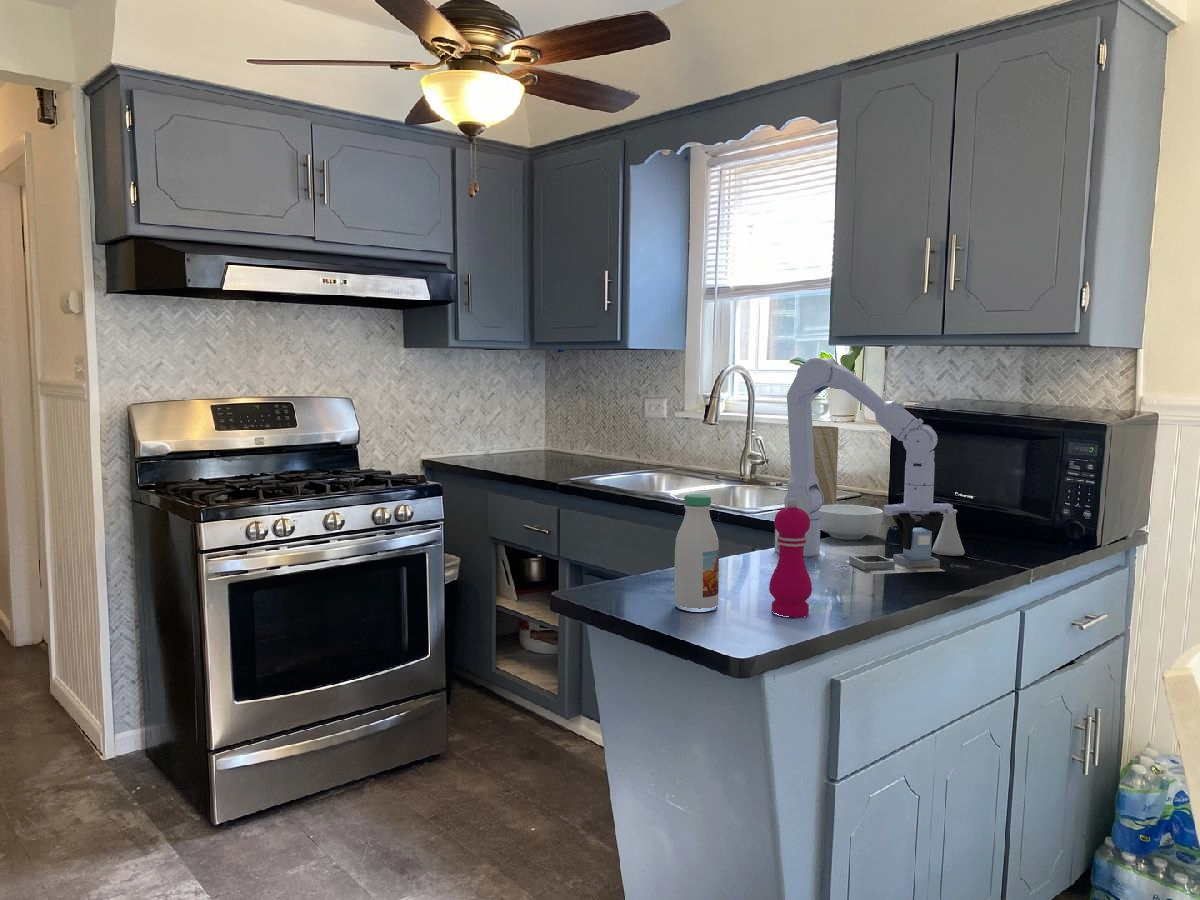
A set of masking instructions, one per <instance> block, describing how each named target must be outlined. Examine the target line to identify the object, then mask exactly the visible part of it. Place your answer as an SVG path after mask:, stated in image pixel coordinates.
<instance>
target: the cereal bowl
mask: <svg viewBox="0 0 1200 900" xmlns="http://www.w3.org/2000/svg"><path fill="white" fill-rule="evenodd" d="M818 511H819V514H820V515H821V517H820V531H822V532H824V533H827V534H829V537H832V538H834V539H839V540H849V541H850V540H852V541H853V540H861V539H863V538H864V537H865V536H868V535H870V534H871V535H872V534H873V533H876V532H877V531H878V530H879V529H880V527H881V526H882V523H883V519H884V514H883V511H884V509H883V510H882V509H880V508H878V507H874V506H873V507H872V506H867V505H856V504H836V505H822V507H821V508H820V509H819V510H818Z"/></svg>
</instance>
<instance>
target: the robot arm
mask: <svg viewBox="0 0 1200 900" xmlns="http://www.w3.org/2000/svg"><path fill="white" fill-rule="evenodd" d="M829 388H830V389H835V390H843V391H845V392H847V393H848V394H849V395H850V396H852V397H853V398H855V399H856V400H857V401H859V402H860V403H861V404H862V405H864V406H865V407H866V408H868V409H869V410H870V411H872V412H873V413H874V417H875V422H876V423H877V424H878V425H879V426H880V427H882V428H883V429H884V430H886V432H888V433H889V434H891V436H893V437H894V438H895V439H896V440H897V441H899V442H902V445H903V448H904V449H905V451H906V455H905V456H906V457H905V458H906V459H905V464H904V465H905V466H904V468H905V469H904V488H903V489H904V492H903V494H904V495H903V503H897V504H896V503H894V504H885V505H883V516H888V517H892V519H893V520H894V522H895V524H896V527H897V529H898V532H899V534H900V539H901V544H902V548H904V549H907V550H910V549H911V544H912V532H913V528H915V527H914V526H915V522H916V519H915V518H913V517H912V515H920V521H921V528H924V529H927V530H930V531H932V540H931V547H933V546H932V545H933V542H934V538H935V536H936V534H937V532H938V530H939V529H940V528H939V527H941V526H942V522H943V520H944V516H943V515H941V514H944V513H946V514H952V513H953V509H954V508H953V507H954V505H953V504H951V503H940V502H939V503H934V491H935V465H936V463H935V457H936V456H935V450H934V449H935V448H936V446H937V444H938V435H937V432H936V431H935V430H934V429H933V427H932V426H931V425H929V424H924V420H923V419H922V418H916V417H915V416H914V415H913V414H911V413H910V412H909V411H908V410H906V405H905V404H904V403H903V402H899V403H898V402H897V401H895V400H890V401H886V400H884V399H883V398H882V397H881V396H880V395H879V394H878V393H876V392H875V391H874V390H873V389H872V388H871V387H870V386H869V385H868V384H866V383H865V382H864V381H863V380H861V378H860V377H858V376H857V375H856V374H855V373H854V372H853V371H851V370H849V369H848V367H846V366H845V365H843V364H840V363H839V362H837V360H835V359H834V358H831V357H824V358H820V357H813V358H809V359H808V360H807V361H805V362H804V363H803V364H802V365H800V366H799V367H798V368H797V370H796V375H795V378H794V379H793V381H792V383H791V385H790V386H789V388H788V391H787V394H786V404H787V405H786V406H787V420H788V421H787V423H788V424H787V425H788V439H789V440H788V441H789V456H790V457H789V459H790V477H789V479H788V482H787V493H786V495H785V496H784V497H785V498H784V501H783V503H784V508H787V507H788V505H787V502H788V500H789V499H791V498H793V499H796V500H797V502H798V506H797V507H796V508H800V509H802V510H804V511H805V512H806V513H807V514H808V516H809V518H810V528H809V530H808V531H807V532H806V533H805V536H806V537H807V539H806V542H807V544H806V545H805V546H804V551H803V556H804V557H809V556H810V557H812V556H818V555H820V551H821V549H820V548H821V546H820V545H821V529H820V517H821V515H820V514H819V511H818V510H819V509H820V508H821V507H822V505H823V502H824V496H823V493H822V491H821V490H820V488H819V480H818V478H817V476H816V474H815V464H814V446H813V427H812V426H813V413H812V412H813V410H812V402H813V401H814V400H815V399H816V398H817V397H818V396H819V395H820V393H821V392H823V391H825V390H826V389H829ZM777 535H779V533H778V531H777V530H776V528H775V527H774V552H777V553H779V552H780V551H779V544H777V539H778V538H777Z"/></svg>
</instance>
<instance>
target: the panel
mask: <svg viewBox="0 0 1200 900" xmlns="http://www.w3.org/2000/svg"><path fill="white" fill-rule="evenodd" d="M845 562H846V563H848V564H849V565H851V566H853V567H856V569H860V570H861V571H864V572H867V573H869V574H871V575H879V574H881V575H882V574H885V575H886V574H902V573H903V574H904V573H905V574H906V573H925V572H927V573H929V572H930V573H931V572H946V570H944V569H942V568H940V565H941V563H940V562H941V559H938V558H936V557H933V556H931V560H909V559H906V558H904V557H903V553H895V554H894V553H893V558H886V557H885V556H883V555H880V554H868V555H866V554H864V555H862V554H861V555H848V560H845Z"/></svg>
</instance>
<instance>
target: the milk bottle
mask: <svg viewBox="0 0 1200 900" xmlns="http://www.w3.org/2000/svg"><path fill="white" fill-rule="evenodd" d="M683 499H684V500H683V501H684V502H683V503H684V506H683V507H684V509H685V513H684V517H683V520H682V523H681V525H680V527H679V529H678V532H677V535H676V536H675V545H674V580H673V581H674V584H673V586H674V589H673V590H674V595H673V597H674V598H673V601H674V602H675V603H676V604H677V605H679V606H682V607H687V608H698V609H701V608H712V607H715V606H717V605H718V606H719V587H720V585H719V580H720V577H719V576H720V573H719V571H720V548H719V547H720V545H719V537H718V535H717V532H716V529H715V526H714V525H713V521H712V518H711V515H710V509H711V504H712V498H711V495H708V494H703V493H692V494H691V493H690V494H685V495H684V498H683Z"/></svg>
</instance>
